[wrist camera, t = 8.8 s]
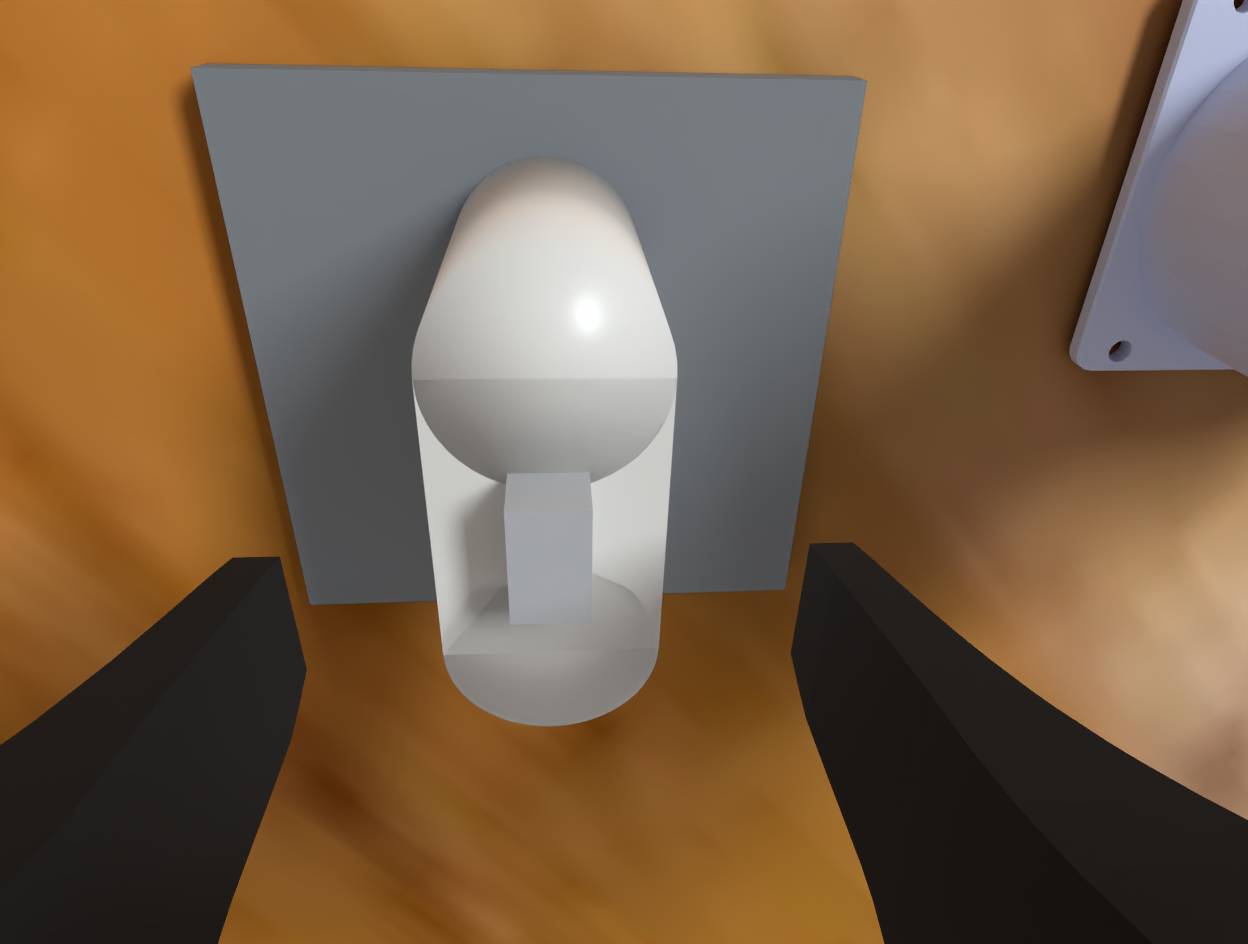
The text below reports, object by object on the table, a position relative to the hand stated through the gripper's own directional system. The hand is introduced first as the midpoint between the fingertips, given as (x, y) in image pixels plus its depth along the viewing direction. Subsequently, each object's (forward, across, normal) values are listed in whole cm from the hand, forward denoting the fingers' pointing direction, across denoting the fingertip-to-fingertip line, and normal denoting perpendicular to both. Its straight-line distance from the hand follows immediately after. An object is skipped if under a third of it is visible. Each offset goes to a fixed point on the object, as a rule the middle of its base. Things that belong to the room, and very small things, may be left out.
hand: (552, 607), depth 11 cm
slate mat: (+8, 0, 0) cm, 8 cm away
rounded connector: (+7, 0, 0) cm, 7 cm away
